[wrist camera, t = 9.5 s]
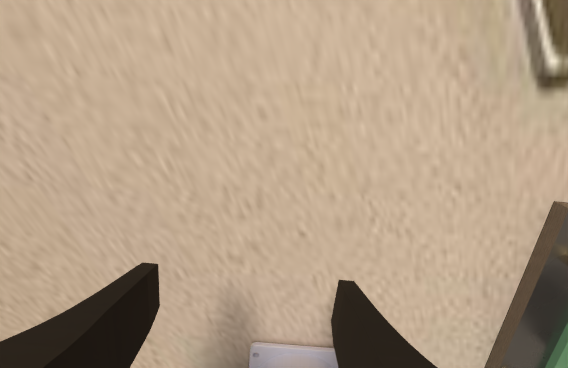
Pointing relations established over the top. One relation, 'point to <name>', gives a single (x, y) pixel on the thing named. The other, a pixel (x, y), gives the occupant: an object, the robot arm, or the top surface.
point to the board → (560, 352)
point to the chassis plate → (538, 301)
